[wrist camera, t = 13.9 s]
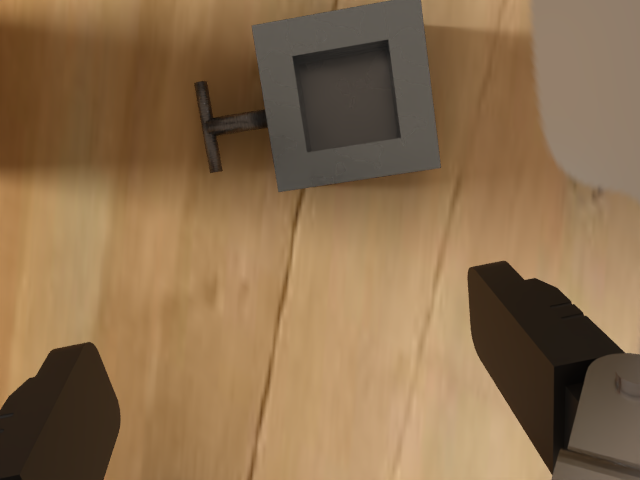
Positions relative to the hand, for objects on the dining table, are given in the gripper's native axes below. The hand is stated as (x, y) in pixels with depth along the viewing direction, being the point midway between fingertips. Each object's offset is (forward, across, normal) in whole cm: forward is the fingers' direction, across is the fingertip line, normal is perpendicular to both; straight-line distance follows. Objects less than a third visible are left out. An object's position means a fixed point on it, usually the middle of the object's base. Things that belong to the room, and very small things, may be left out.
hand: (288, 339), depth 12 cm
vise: (+22, -3, 0) cm, 22 cm away
